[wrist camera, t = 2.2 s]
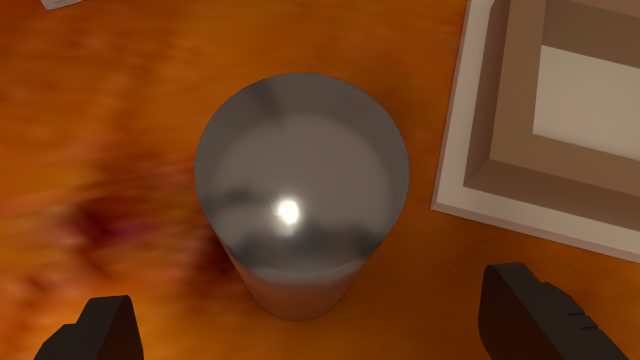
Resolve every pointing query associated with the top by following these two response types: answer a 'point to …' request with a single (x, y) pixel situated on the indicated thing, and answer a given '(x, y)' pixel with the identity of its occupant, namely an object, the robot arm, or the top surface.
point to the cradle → (547, 122)
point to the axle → (301, 187)
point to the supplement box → (58, 3)
